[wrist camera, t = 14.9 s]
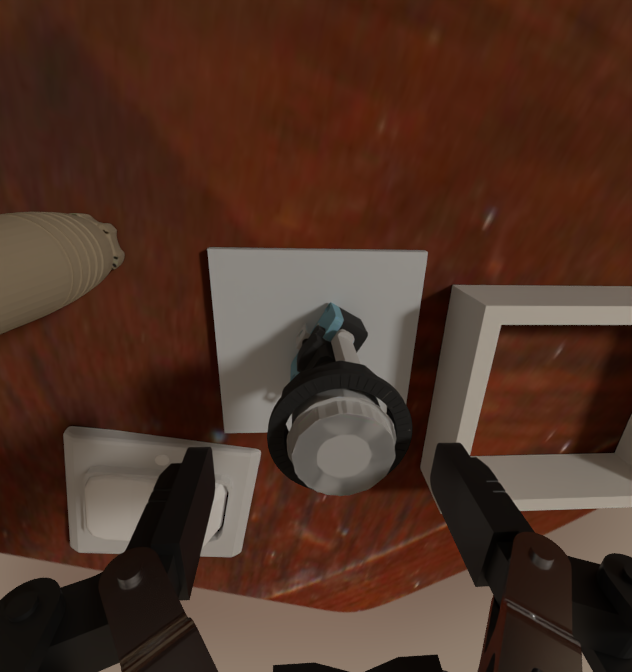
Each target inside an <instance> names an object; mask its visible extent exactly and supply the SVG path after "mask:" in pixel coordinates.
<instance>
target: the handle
mask: <svg viewBox="0 0 632 672" xmlns="http://www.w3.org/2000/svg"><path fill="white" fill-rule="evenodd" d="M116 234H117V230H116V229H115V228H114V227H113V226H112V225H111V224H109V223H101V222H98V221H96V220H94V219H93V218H92V217H91V216H90V215H87V214H79V213H71V214H65V213H55V212H19V213H7V214H0V334H2V333H5V332H7V331H10V330H12V329H14V328H17V327H19V326H22V325H24V324H27V323H29V322H32V321H34V320H37V319H39V318H41V317H44V316H46V315H49V314H50V313H52V312H54V311H56V310H58V309H60V308H62V307H64V306H66V305H68V304H70V303H71V302H73V301H75V300H77V299H78V298H80V297H81V296H83V295H84V294H86V293H87V292H89V291H90V290H92V289H93V288H94V287H95V286H97V285H98V284H99V283H100V282H101V281H102V280H104V279H105V277H106V276H107V275H108V274H109V272H110V271H111V270H112V269H116V268H117V267H119V266H120V265H121V264H122V262H123V260H124V256H125V255H124V252H123V251H122V250H121V248H120V247H119V244H118V241H117V236H116Z"/></svg>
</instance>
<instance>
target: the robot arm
mask: <svg viewBox="0 0 632 672" xmlns="http://www.w3.org/2000/svg"><path fill="white" fill-rule="evenodd" d="M430 484H431V489H432V493H433V495H434V497H435V499H436V502H437V504H438V506H439V508H440V510H441V512H442V515H443V517H444V519H445V521H446V523H447V526H448V528H449V530H450V532H451V534H452V536H453V539H454V541H455V543H456V545H457V547H458V550H459V552H460V554H461V556H462V558H463V561H464V563H465V565H466V567H467V569H468V571H469V574H470V576H471V578H472V580H473V582H474V585H475V586H476V587H480V586H489V587H490V588H491V591H492V593H493V598H492V601H491V606H490V611H489V617H488V622H487V627H486V633H485V638H484V644H483V649H482V654H481V659H480V664H479V668H478V672H582V653H583V654H584V656H585V658H586V660H587V662H588V663H589V665H590V667H591V669H592V670H593V672H632V558H631V557H629V556H626V555H623V554H615V553H614V554H609V555H607V556H605V558H604V559H603V561H602V563H601V564H597V563H593V562H589V561H585V560H581V559H577V558H574V557H570V556H567V555H566V554H565V552H564V551H563V550H562V549H561V548H560V547H559V546H558V545H557V544H556V543H554V542H553V541H552V540H550V539H548V538H547V537H545V536H543V535H540V534H537V533H535V532H534V531H533V529H532V528H531V526H530V525H529V523H528V522H527V521H526V519H525V518H524V516H523V515H522V513H521V512H520V511H519V509H518V508H517V506H516V505H515V503H514V502H513V501H512V499H511V498H510V496H509V495H508V493H506V492H505V489H504V488H503V486H502V485H501V483H499V482H498V479H497V478H496V476H495V475H494V473H493V472H492V470H491V469H490V468H489V467H488V466H487V465H486V464H484V463H483V462H482V461H481V460H479V459H478V458H477V457H470V456H469V454H468V452H467V451H466V449H465V448H464V446H463V445H462V444H461V443H459V442H457V443H438V444H437V446H436V450H435V455H434V459H433V464H432V469H431V474H430ZM214 495H215V473H214V463H213V454H212V448H211V447H188V449H187V451H186V453H185V456H184V458H183V461H182V463H171V464H170V465H169V466H168V467H167V468H166V469H165V470H164V471H163V472H162V473H161V474H160V475H159V477H158V479H157V482H156V484H155V486H154V488H153V492H152V493H151V495H150V497H149V499H148V503H147V504H146V506H145V508H144V511H143V513H142V515H141V517H140V520H139V522H138V524H137V526H136V529H135V531H134V533H133V535H132V537H131V540H130V542H129V544H128V546H127V548H126V550H125V552H123V553H121V554H120V555H118V556H117V557H116V558H114V559H113V560H112V561H111V562H110V563H109V564H108V565H107V567H106V568H105V569H104V571H103V572H101V573H100V574H98V575H96V576H93V577H91V578H88V579H85V580H82V581H79V582H76V583H73V584H70V585H67V586H64V587H61V588H60V586H59V585H58V583H57V582H56V581H55V580H53V579H51V578H38V579H34V580H30V581H28V582H26V583H23V584H22V585H20V586H18V587H16V588H15V589H13V590H12V591H11V592H9V593H8V594H7V595H5V596H4V597H3V598H2V599H1V600H0V672H99V671H101V670H103V669H105V668H108V667H110V666H112V665H115V664H117V663H119V662H120V665H121V671H122V672H218V670H217V668H216V666H215V664H214V662H213V660H212V658H211V656H210V654H209V652H208V650H207V648H206V646H205V644H204V641H203V639H202V637H201V635H200V633H199V631H198V629H197V627H196V625H195V623H194V621H193V620H192V619H191V618H188V617H187V615H186V613H185V612H184V609H183V607H182V605H181V603H180V601H179V600H190V596H191V591H192V587H193V583H194V579H195V575H196V571H197V567H198V562H199V558H200V554H201V550H202V546H203V542H204V538H205V534H206V529H207V525H208V521H209V517H210V513H211V509H212V505H213V500H214ZM273 672H348V671H344V670H340V669H337V668H333V667H329V666H325V665H321V664H318V663H302V664H287V665H273ZM365 672H447V671H444V670H442V668H441V664H440V661H439V658H438V655H424V656H409V657H398V658H395V659H393V660H391V661H388V662H386V663H384V664H381V665H379V666H377V667H374V668H372V669H370V670H367V671H365Z"/></svg>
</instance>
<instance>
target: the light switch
mask: <svg viewBox="0 0 632 672" xmlns="http://www.w3.org/2000/svg"><path fill="white" fill-rule="evenodd" d="M63 438H64V454H65V470H66V486H67V502H68V518H69V534H70V546H71V547H72V548H73V549H74V550H76V551H77V552H79V553H109V554H121V553H123V552H125V550H126V548H127V546H128V544H129V542H130V540H131V537H132V535H133V533H134V531H135V529H136V526H137V524H138V522H139V520H140V517H141V515H142V513H143V511H144V508H145V506H146V504H147V503H148V499H149V497H150V495H151V493H152V492H153V488H154V486H155V484H156V482H157V479H158V477H159V475H160V474H161V473H162V472H163V471H164V470H165V469H166V468H167V467H168V466H169V465H170V464H171V463H182V461H183V458H184V456H185V453H186V451H187V449H188V447H211V448H212V454H213V463H214V473H215V495H214V500H213V505H212V509H211V513H210V517H209V521H208V525H207V529H206V534H205V538H204V542H203V546H202V550H201V554H200V556H207V557H233V556H235V555H237V554H239V553H240V552H241V550H242V545H243V540H244V535H245V530H246V525H247V520H248V515H249V510H250V505H251V500H252V495H253V491H254V486H255V481H256V476H257V471H258V466H259V461H260V456H261V451H260V450H258V449H254V448H246V447H238V446H231V445H223V444H216V443H208V442H201V441H193V440H186V439H178V438H170V437H163V436H155V435H148V434H140V433H133V432H125V431H118V430H108V429H97V428H87V427H76V426H70V427H68V428H67V429H66V430H65V432H64V434H63ZM226 487H227V488H226ZM227 491H228V492H229V494H228V500H227V506H226V512H225V518H224V524H223V527H222V528H221V529H220V530H219V531H218V529H219V528H220V527H221V526H222V522H223V516H224V510H225V503H226V497H227ZM217 531H218V532H217Z"/></svg>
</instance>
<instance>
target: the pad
mask: <svg viewBox="0 0 632 672" xmlns="http://www.w3.org/2000/svg"><path fill="white" fill-rule="evenodd" d="M207 251H208V262H209V273H210V283H211V294H212V304H213V315H214V326H215V336H216V347H217V357H218V368H219V379H220V389H221V400H222V410H223V421H224V432H225V433H256V432H268V424H269V419H270V416H271V413H272V411H273V408H274V406H275V405H276V403H277V402H278V400H279V399H280V398H281V396H282V391H283V389H284V387H285V386H286V385H287V384H288V383H289V382H290V375H291V363H292V361H293V359H294V358H295V356H296V355H297V353H298V352H299V349H297V348H296V337H297V334H298V333H299V331H300V330H301V328H302V327H303V325H304V324H306V326H307V331H306V332H308V333H309V334H310V333H311V331H312V330H313V328H314V327H315V325H316V324H317V322H318V321H319V319H320V318H321V316H322V314H323V313H324V311H325V309H326V307H327V306H328V304H329V303H330V302H331V303H333V304H335V305H337V306H338V307H340V308H342V309H344V310H345V311H347V312H349V313H351V314H352V315H354V316H356V317H358V318H359V319H361V321H362V323H363V324H364V326H365V328H366V330H367V332H368V337H367V339H366V340H365V342H364V343H363V345H362V346H361V347H360V349H359V350H358V352H357V355H358V358H359V361H360V363H361V364H363V365H365V366H366V367H367V368H369V369H370V370H371V371H372V372H373V373H374V374H376V375H377V376H378V377H380V378H382V379H384V380H385V381H387V382H388V383H389V384H391V385H392V386H393V387H394V388H395V389H396V390H397V391H398V392H399V394H400V395H401V397H402V398H403V400H404V402H405V404H406V401H407V395H408V388H409V381H410V374H411V367H412V360H413V353H414V346H415V339H416V332H417V325H418V318H419V311H420V304H421V297H422V290H423V283H424V276H425V269H426V262H427V255H428V252H427V251H425V250H367V249H296V248H225V247H209V248H208V249H207ZM301 334H302V332H301ZM301 334H300V335H301ZM376 398H377V397H376ZM377 400H378V402H379V405H380V407H381V408H382V409H383V410H384V412H385V413H386V412H387V406H386V404H385V403H383V402H382V401H381V400H380V399H378V398H377ZM286 426H287V428H288V430H289V431H290V429H291V426H292V414H291V416H290V417H289V419H288V421H287V423H286Z"/></svg>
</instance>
